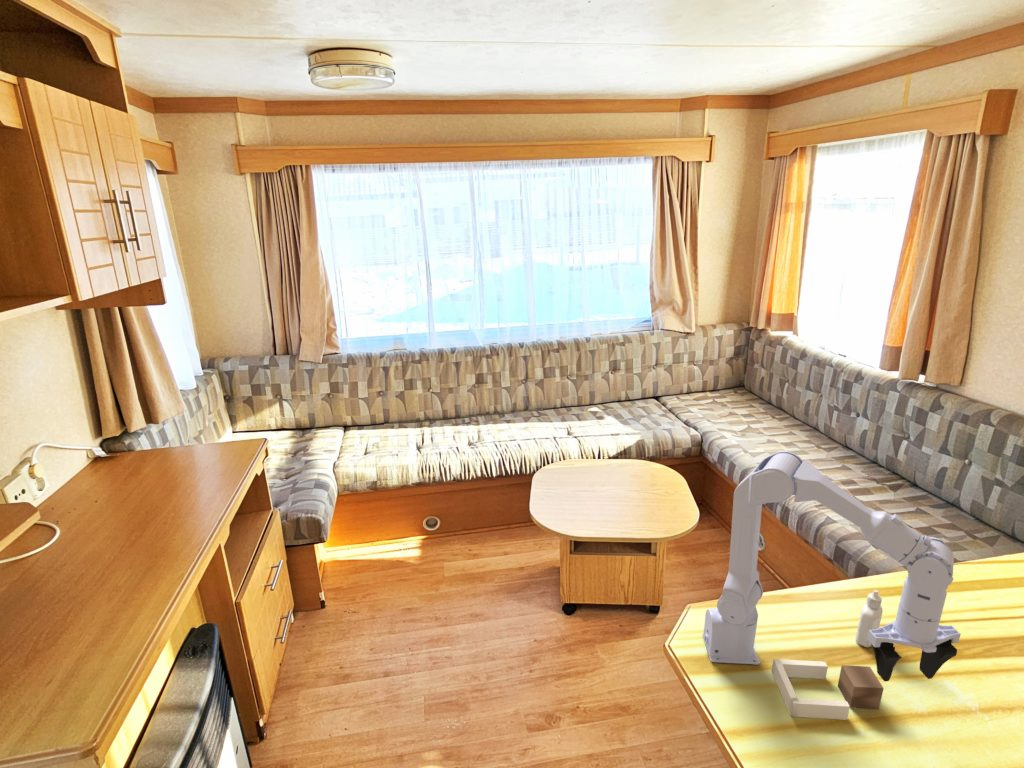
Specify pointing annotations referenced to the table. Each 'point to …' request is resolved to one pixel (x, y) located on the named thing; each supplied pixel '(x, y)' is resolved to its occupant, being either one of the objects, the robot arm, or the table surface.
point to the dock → (801, 705)
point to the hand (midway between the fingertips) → (904, 675)
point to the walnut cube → (860, 687)
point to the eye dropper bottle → (869, 618)
